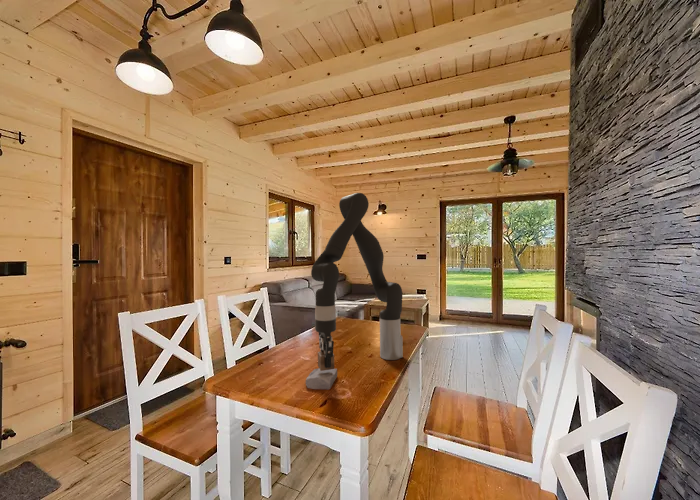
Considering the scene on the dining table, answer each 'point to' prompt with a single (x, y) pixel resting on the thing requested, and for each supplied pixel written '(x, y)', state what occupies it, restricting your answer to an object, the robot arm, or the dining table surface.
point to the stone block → (321, 379)
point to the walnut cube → (322, 361)
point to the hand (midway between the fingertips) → (326, 364)
